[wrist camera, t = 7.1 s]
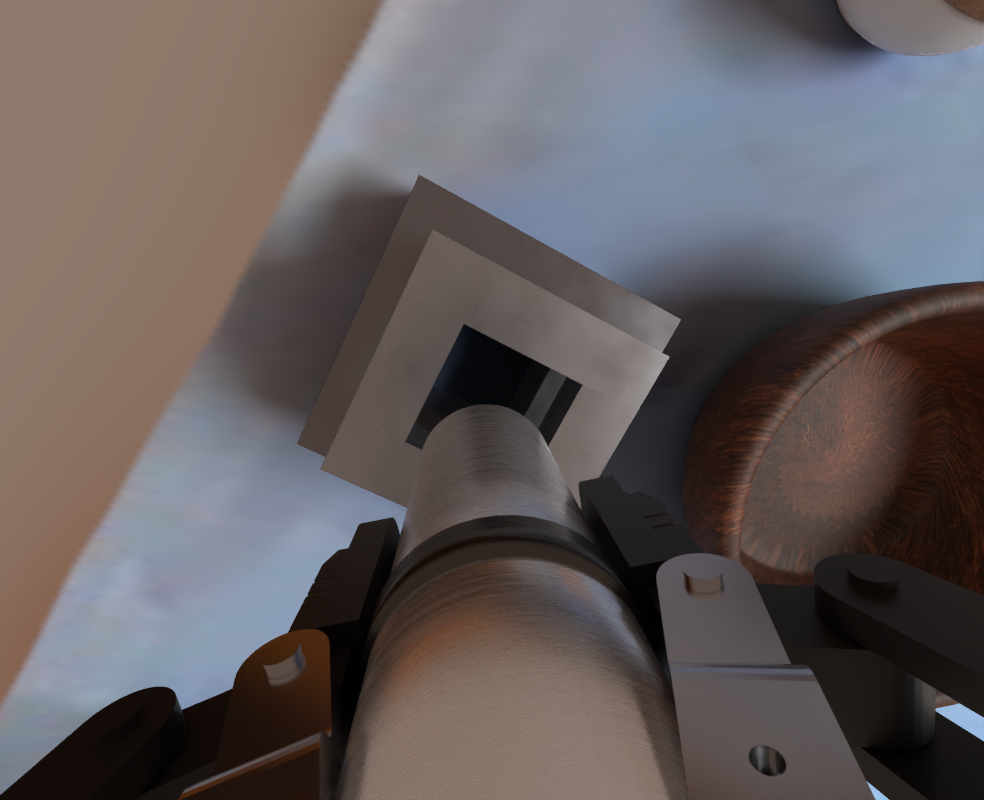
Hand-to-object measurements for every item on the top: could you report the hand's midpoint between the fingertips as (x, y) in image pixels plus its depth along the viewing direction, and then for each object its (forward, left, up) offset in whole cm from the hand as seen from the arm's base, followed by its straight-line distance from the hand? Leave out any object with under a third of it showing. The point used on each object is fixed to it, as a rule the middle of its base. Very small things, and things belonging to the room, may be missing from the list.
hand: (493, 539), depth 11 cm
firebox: (0, 0, -23) cm, 23 cm away
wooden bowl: (+5, -25, -24) cm, 35 cm away
